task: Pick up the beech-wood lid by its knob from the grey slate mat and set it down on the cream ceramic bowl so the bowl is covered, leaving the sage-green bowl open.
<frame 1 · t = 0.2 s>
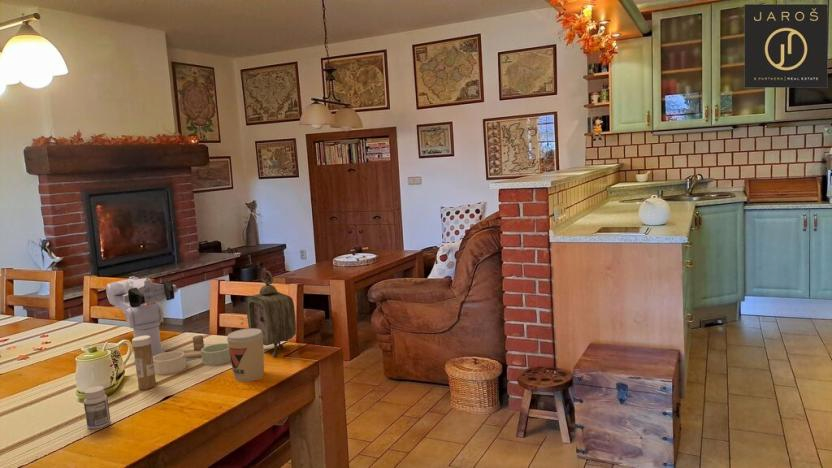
hand: (157, 296, 170), 21 cm above the table, tool horizontal, fingers open, 7 cm apart
lid: (199, 352, 185), resting on slate mat
pill bottle: (99, 425, 136), on the table
cream bowl: (169, 369, 171), on the table
coffee cup: (249, 377, 161), on the table
sage bowl: (218, 360, 176), on the table
slate mat: (199, 353, 185), on the table
tabletop clock: (275, 351, 182), on the table
sprinkles bottle: (147, 387, 158), on the table
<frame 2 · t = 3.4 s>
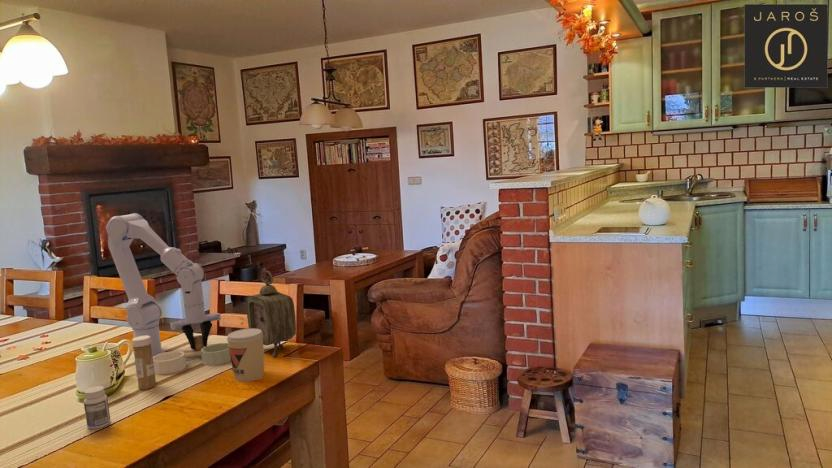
hand: (198, 347, 184), 2 cm above the table, tool pointing down, fingers closed on lid, 3 cm apart
lid: (199, 352, 185), resting on slate mat, touching gripper
everything else where it was.
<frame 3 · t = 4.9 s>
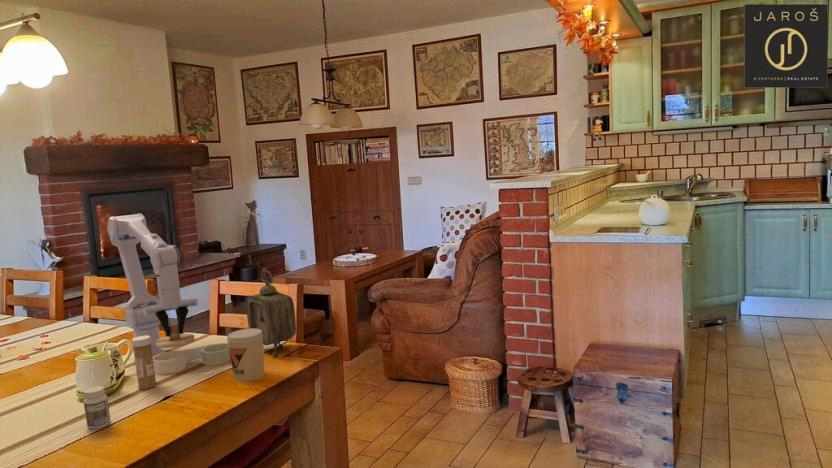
hand: (174, 334, 173), 9 cm above the table, tool pointing down, fingers closed on lid, 3 cm apart
lid: (175, 342, 174), point 7 cm above the table, touching gripper
everything else where it was.
when the fingers open (7 cm above the table, at t = 6.3 s): lid stays where it is, resting on cream bowl.
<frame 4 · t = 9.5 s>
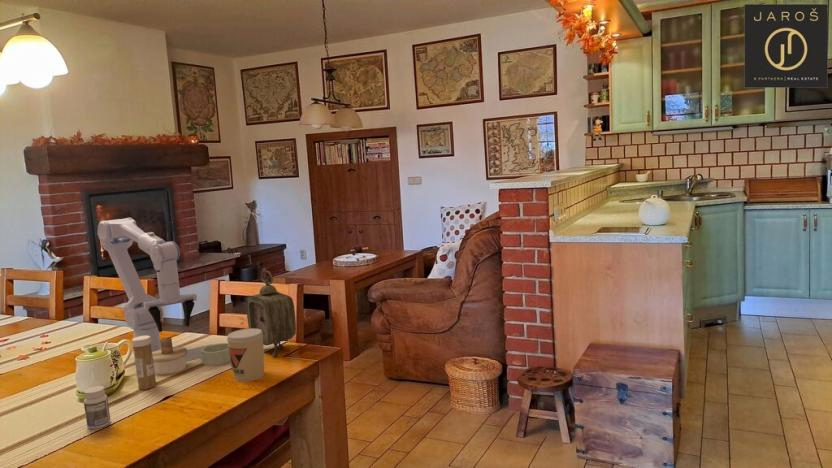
hand: (173, 328, 178), 10 cm above the table, tool pointing down, fingers open, 7 cm apart
lid: (167, 356, 171), point 4 cm above the table, touching cream bowl
everything else where it was.
at the end: lid 0.1 cm off-centre on the cream bowl, point 4.0 cm above the cream bowl's base; lid tilted 0°; the gripper is holding nothing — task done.
